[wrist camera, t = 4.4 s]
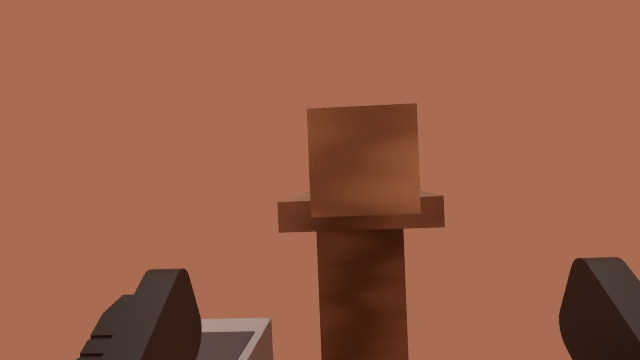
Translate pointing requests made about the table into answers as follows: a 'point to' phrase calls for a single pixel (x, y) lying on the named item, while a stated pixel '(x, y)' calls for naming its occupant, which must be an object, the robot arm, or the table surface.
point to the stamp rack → (361, 276)
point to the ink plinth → (236, 339)
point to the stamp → (364, 160)
